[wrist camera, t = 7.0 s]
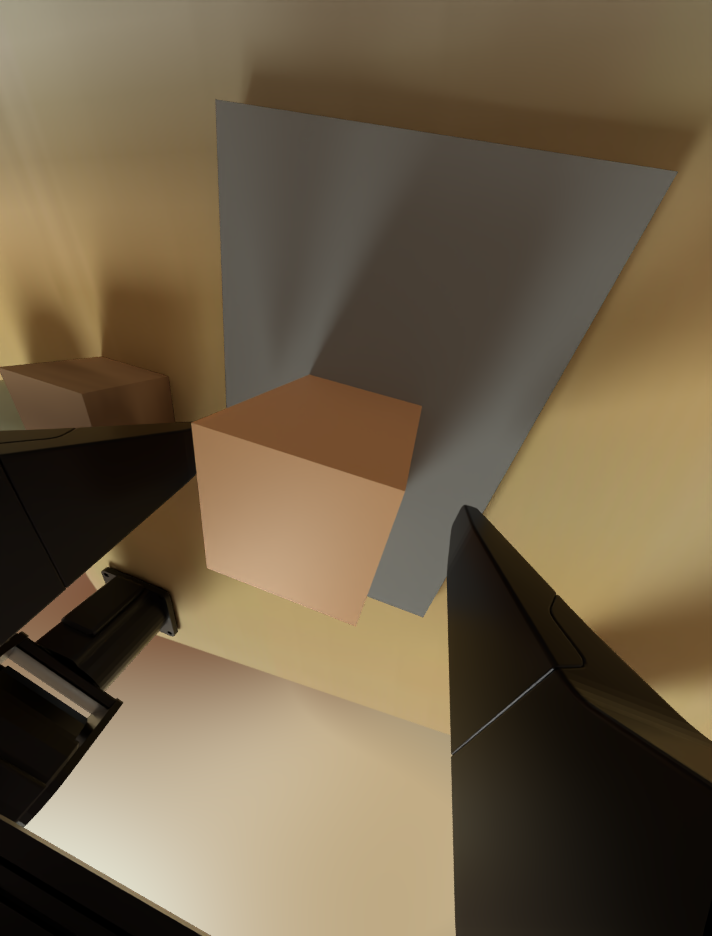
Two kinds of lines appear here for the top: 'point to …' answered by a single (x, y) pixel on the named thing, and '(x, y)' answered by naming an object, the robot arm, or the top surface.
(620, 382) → the top surface
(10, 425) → the sage cylinder
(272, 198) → the slate mat
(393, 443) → the terracotta block
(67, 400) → the walnut block
